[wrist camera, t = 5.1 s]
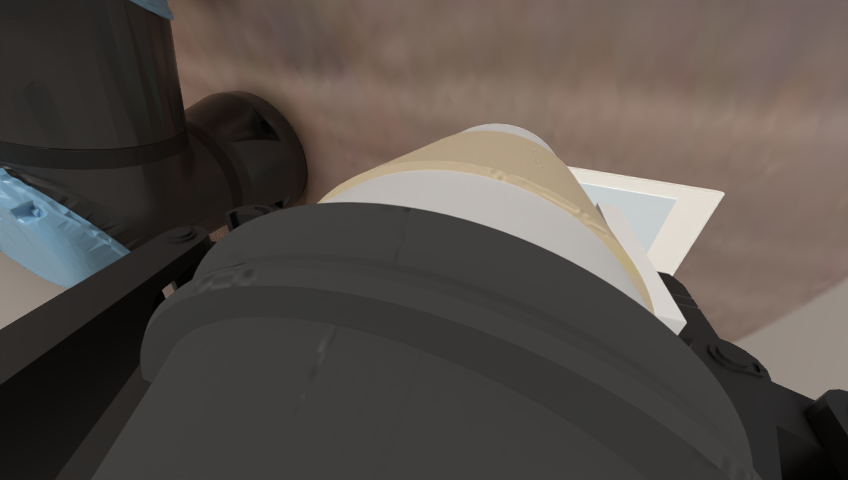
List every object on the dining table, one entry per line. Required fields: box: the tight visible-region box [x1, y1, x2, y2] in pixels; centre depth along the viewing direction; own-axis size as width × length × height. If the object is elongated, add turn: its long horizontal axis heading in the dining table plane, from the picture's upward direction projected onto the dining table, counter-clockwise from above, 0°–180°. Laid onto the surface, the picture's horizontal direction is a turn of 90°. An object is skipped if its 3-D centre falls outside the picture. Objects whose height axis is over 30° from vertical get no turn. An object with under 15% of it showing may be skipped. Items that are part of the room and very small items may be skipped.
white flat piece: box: [567, 166, 725, 276], centre depth 32 cm, size 14×12×1 cm
